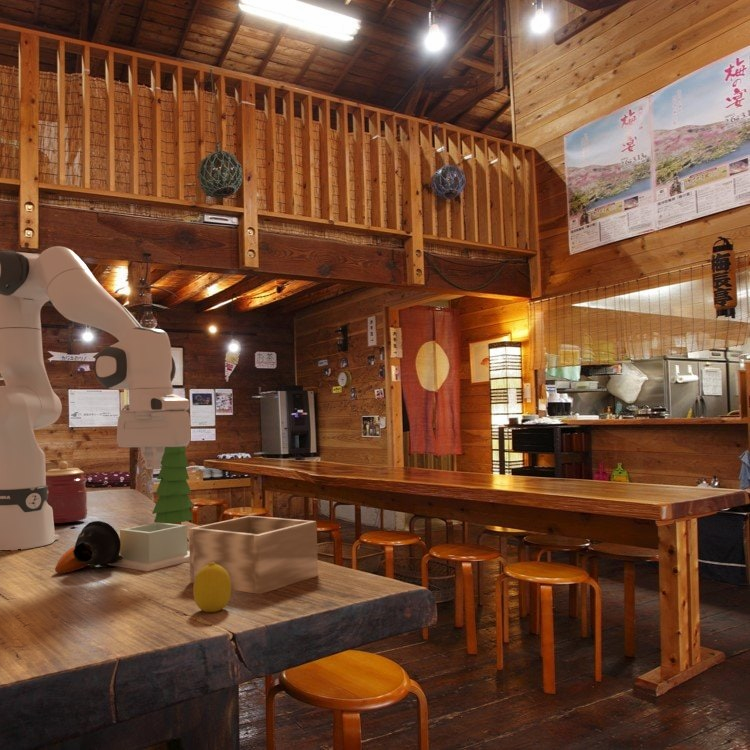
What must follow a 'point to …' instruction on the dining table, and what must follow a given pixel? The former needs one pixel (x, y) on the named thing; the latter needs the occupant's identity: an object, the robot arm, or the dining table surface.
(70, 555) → the carrot
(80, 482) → the canister
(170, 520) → the decorative tree
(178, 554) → the open rectangular box
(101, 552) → the bowl of food
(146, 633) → the dining table surface
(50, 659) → the dining table surface
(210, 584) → the lemon
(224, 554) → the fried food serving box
